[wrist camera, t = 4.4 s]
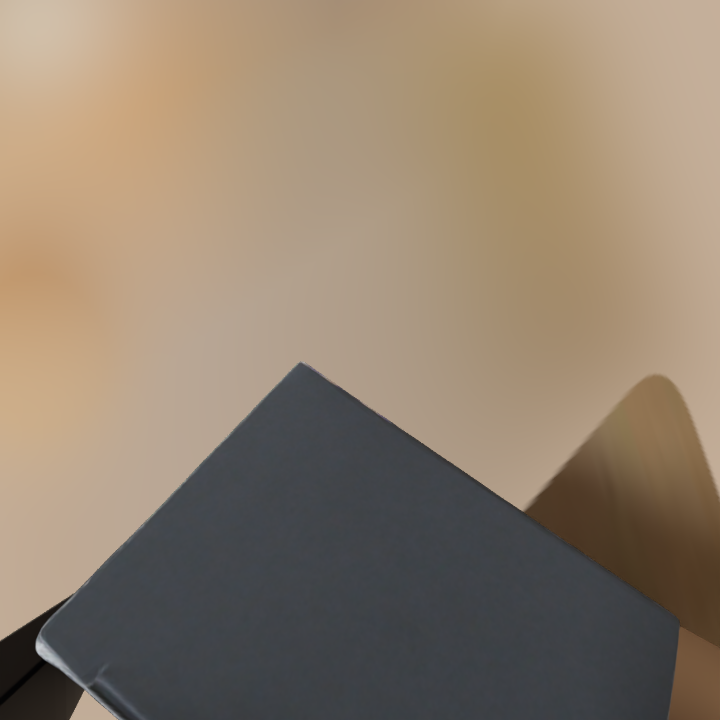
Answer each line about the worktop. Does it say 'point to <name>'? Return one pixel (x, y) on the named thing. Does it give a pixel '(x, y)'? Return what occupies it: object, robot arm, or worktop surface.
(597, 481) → the worktop surface
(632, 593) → the box
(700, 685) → the walnut slab
